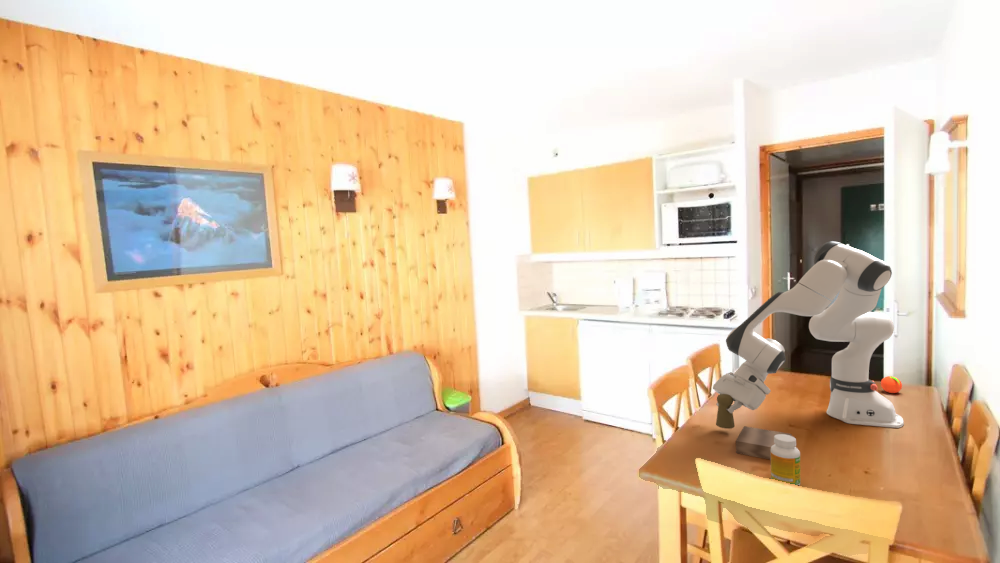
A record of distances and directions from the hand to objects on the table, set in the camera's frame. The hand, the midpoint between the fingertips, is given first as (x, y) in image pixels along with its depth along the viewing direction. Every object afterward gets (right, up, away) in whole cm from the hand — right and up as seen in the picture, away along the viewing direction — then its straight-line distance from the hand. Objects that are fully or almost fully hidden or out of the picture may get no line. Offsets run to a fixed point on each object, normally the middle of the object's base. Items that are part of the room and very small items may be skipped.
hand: (723, 409), depth 170 cm
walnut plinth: (+7, -9, -14) cm, 18 cm away
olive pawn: (+1, -6, +1) cm, 6 cm away
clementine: (+85, -2, +31) cm, 90 cm away
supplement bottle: (+1, -11, -35) cm, 37 cm away
